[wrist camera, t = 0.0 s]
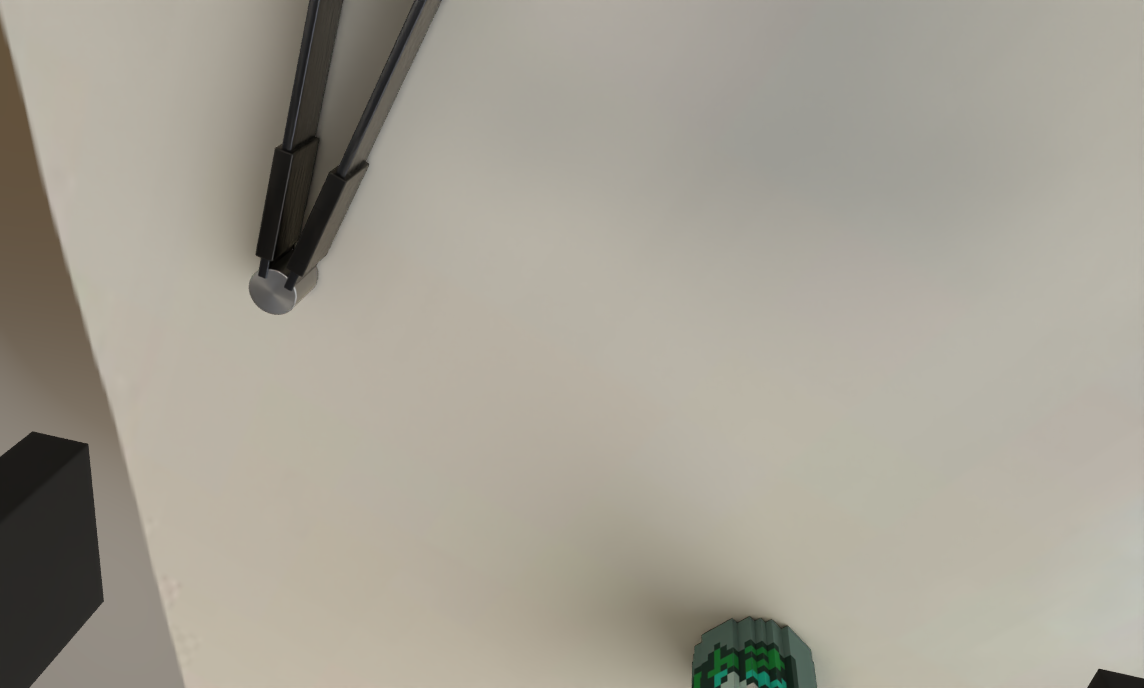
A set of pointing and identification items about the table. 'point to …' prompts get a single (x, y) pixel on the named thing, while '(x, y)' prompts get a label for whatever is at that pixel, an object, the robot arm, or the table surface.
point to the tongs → (295, 270)
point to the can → (752, 657)
